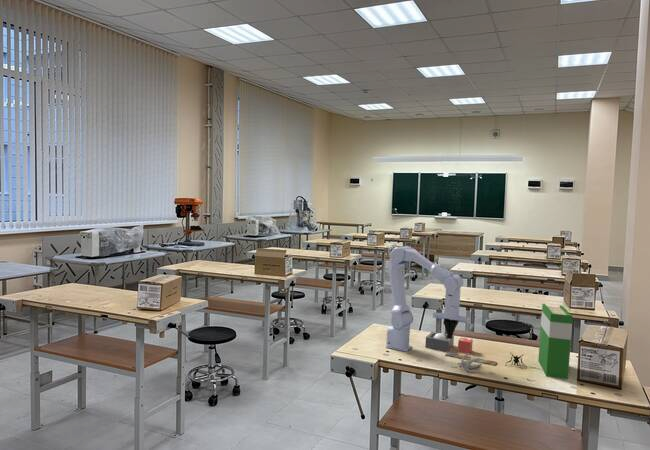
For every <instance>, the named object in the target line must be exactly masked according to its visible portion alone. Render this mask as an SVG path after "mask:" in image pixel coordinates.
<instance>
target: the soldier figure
mask: <svg viewBox="0 0 650 450" xmlns="http://www.w3.org/2000/svg"><path fill="white" fill-rule="evenodd" d="M466 356H469V353H464V356H463V358H462V359H460V360H461V361H460V362H457V363H456V364H457V366H458V367H459V370H460V369H462V368H463V370H465V371H467V372H468V373H477V372H479V370H478V369H475V368H478V367H481V366H482V365H483V363H479V364H472V363H475V362H474V361H477V360H478V357H475V358H476V359H471V360H464V359H465V357H466ZM474 369H475V370H474Z"/></svg>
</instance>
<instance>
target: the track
mask: <svg viewBox="0 0 650 450" xmlns="http://www.w3.org/2000/svg"><path fill="white" fill-rule="evenodd" d="M464 355H465V354H464ZM464 355H463V354H460V353H459V354H458V353H454V352H449V351H448V352H447V351H446V353H445V357H450V358H454V359H460V360H462V358H463V356H464ZM476 358H478V357H474V356H469V355H468V356H466V357H465V359H464V361H470V360H471V359H476ZM497 362H498V361H495V360H490V359H484V358H481V357H479V358H478V360H477V361H474V362H473V363H479V364H485V365H489V366H496V365H497Z"/></svg>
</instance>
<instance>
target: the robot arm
mask: <svg viewBox="0 0 650 450" xmlns="http://www.w3.org/2000/svg"><path fill="white" fill-rule="evenodd" d="M408 262H414V263H416V264H417V265H419V266H421V267H422V268H424V269H425V270H427V271H429V275H430V276H431V277H432V278H434V279H435V280H437V281H438V282H440V283H441V284H443V286H444V288H445V296H444V297H445V298H444V312H433V313H432V318H433V319H440V320H443V321H442V322H443V325H444V327H445V330H446V334H447V336H448V339H452V336H454V333H455V330H456V328H457V326H458V324H459V323H465V324H467V325H470V323H471V318H470V317H466V316H462V315H460V303H461V288H462V287H463V285H464V280H463V277H461V275H460V274H458V273H455V274H454V271H450V270H448V269H447V268H446V267H445V265H443V264H439V263H435V264H434V262H432V261H430V260H429V259H428V258H426V257H425V256H424V255H422V254H421V253H420V252H419V251H418V250H417V249H415V248H413V247H411V246H409V245H405V246H395V247H394V248H393V249H391V251H390V252H389V260H388V264H387V270H388V276H389V282H390V283H389V284H390V289H391V296H392V302H393V307H392V309H391V310H390V312H391V313H390V314H391V317H390V324H391V325H389V326H388V327H387V330H386V331H387V332H386V343H385V344H386V345H385V348H386V349H387V348H388V349H392V350H397V351H403V352H407V351H409V350H410V349H411V348H412V346H413V345H410V334H411V325H412V323H413V321H414V316H413V314H412V312H411V307H410V306H408V304H407V299H406V294H405V287H404V286H405V285H404V280H403V274H402V273H403V272H402V268H403V266H404V265H405V264H406V263H408Z"/></svg>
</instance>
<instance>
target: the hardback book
mask: <svg viewBox="0 0 650 450" xmlns="http://www.w3.org/2000/svg"><path fill="white" fill-rule="evenodd" d="M573 318H574V317H573V315H572V314H571V313H570V312H569V311H568V310H567V309H566V308H565V306H563V305H559V306H551V305H550V306H549V305H546V304H545V303H542V304H541V319H540V334H539V347H538V358H537V359H538V361H537V362H538V363H539V365H540V367H541V369H542V371H543V373H544V375H545V377H547V378H548V377H549V378H555V379H563V380H568V379H569V369H570V357H571V345H572V332H573V331H572V330H573Z"/></svg>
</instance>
